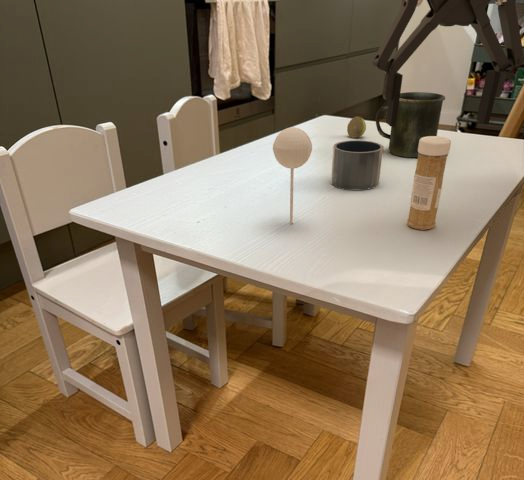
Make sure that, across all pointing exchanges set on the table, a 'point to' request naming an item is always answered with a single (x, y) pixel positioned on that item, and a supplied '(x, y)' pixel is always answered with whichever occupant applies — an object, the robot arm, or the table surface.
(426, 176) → the sprinkles bottle
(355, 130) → the lime
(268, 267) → the table surface
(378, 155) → the tin
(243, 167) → the table surface
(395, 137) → the mug
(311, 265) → the table surface
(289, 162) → the lollipop
